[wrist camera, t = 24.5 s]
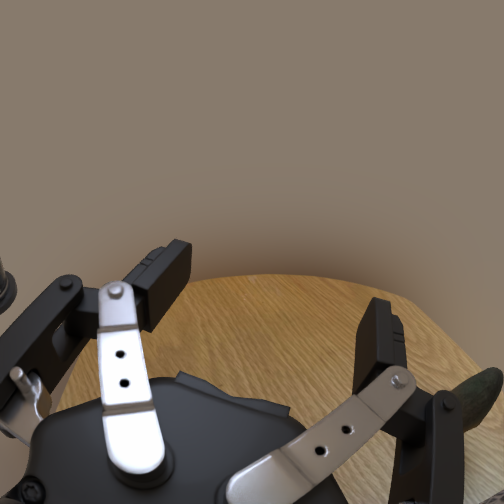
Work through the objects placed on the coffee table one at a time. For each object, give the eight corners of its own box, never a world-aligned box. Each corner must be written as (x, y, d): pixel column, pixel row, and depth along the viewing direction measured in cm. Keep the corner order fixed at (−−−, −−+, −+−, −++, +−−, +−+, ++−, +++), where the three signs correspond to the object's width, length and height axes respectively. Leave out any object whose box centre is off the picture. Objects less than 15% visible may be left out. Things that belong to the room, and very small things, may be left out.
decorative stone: (416, 471, 28) (494, 409, 20) (395, 436, 33) (462, 366, 25) (460, 441, 31) (529, 376, 23) (440, 411, 36) (501, 342, 28)
